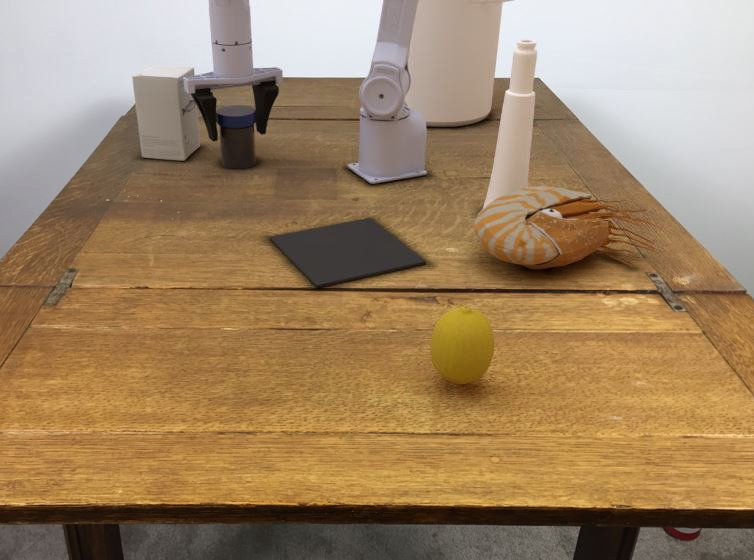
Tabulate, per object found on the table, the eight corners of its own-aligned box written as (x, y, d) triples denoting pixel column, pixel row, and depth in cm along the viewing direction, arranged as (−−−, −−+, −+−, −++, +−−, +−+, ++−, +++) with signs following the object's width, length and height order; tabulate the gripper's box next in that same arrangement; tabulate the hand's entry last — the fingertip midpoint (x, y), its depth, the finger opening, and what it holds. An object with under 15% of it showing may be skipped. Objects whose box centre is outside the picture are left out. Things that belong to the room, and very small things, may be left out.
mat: (370, 220, 102) (370, 217, 102) (426, 264, 92) (426, 261, 91) (269, 239, 97) (269, 236, 97) (316, 288, 86) (316, 285, 86)
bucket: (522, 109, 147) (542, -39, 134) (473, 140, 131) (490, -25, 118) (402, 89, 158) (409, -49, 145) (343, 115, 142) (345, -37, 129)
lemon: (422, 368, 73) (428, 292, 69) (480, 365, 74) (490, 290, 69) (433, 403, 68) (440, 325, 64) (495, 400, 69) (506, 322, 65)
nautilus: (645, 245, 98) (662, 309, 85) (472, 220, 100) (465, 279, 88) (664, 186, 93) (684, 245, 81) (482, 162, 96) (476, 215, 84)
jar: (247, 155, 124) (244, 108, 120) (261, 165, 120) (259, 116, 116) (216, 160, 121) (212, 112, 117) (230, 171, 117) (227, 121, 114)
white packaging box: (185, 161, 121) (177, 77, 114) (140, 158, 122) (129, 74, 115) (202, 146, 127) (195, 66, 120) (159, 143, 128) (149, 63, 121)
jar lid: (222, 115, 120) (222, 104, 119) (260, 117, 119) (259, 106, 118) (211, 126, 115) (211, 115, 114) (250, 128, 114) (250, 117, 113)
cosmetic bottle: (512, 228, 100) (536, 49, 89) (472, 215, 104) (490, 41, 92) (536, 214, 104) (562, 41, 92) (497, 202, 108) (518, 34, 96)
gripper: (268, 32, 117) (271, 122, 124) (173, 40, 111) (183, 134, 119) (287, 41, 112) (289, 135, 119) (188, 50, 106) (197, 148, 113)
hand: (237, 136), depth 118 cm, fingers open, 7 cm apart
